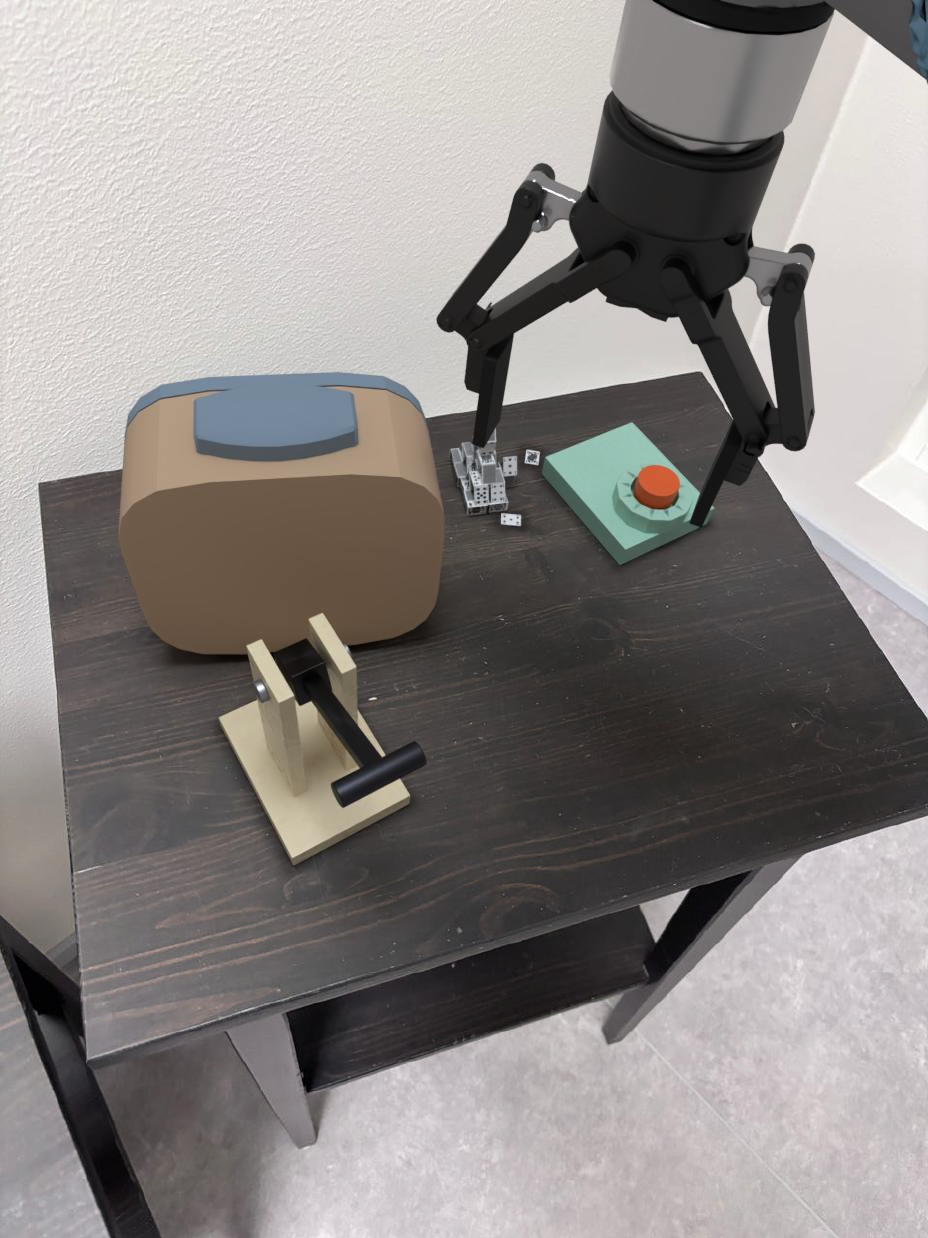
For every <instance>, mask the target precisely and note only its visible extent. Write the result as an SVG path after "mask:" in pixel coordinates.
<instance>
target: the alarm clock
mask: <svg viewBox="0 0 928 1238" xmlns="http://www.w3.org/2000/svg"><path fill="white" fill-rule="evenodd" d="M428 427H429V426H428V422H427V419H426V416H425V412H424V411H423V408H422V405H421V401H420V400H419V399H418V398H417V397H416V396H415V395H414V393H412V392H411V391H410V389H409V388H408V387H407V386H405V385H403V384H402V383H399V382H397V381H395V380H393V379H391V378H389V377H387V376H384V375H377V374H366V373H352V372H341V371H329V372H305V373H304V372H303V373H277V374H275V373H274V374H253V375H248V374H247V375H227V376H225V375H223V376H222V375H221V376H206V377H200V378H195V379H194V378H193V379H188V380H182V381H176V382H169V383H163V384H160V385H158V386H157V387H155V388H153V389H152V390H150V391H148V392H146V393H145V394H143V395H142V396H140V397H139V398H138V399H137V401H136V403H135V404H134V405H133V406H132V408H131V409H130V411H129V412H128V414H127V419H126V424H125V431H124V438H123V439H124V441H123V454H122V455H123V457H122V473H121V487H120V505H119V519H118V534H117V537H118V542H119V548H120V552H121V556H122V559H123V561H124V564H125V568H126V570H127V573H128V576H129V578H130V581H131V584H132V587H133V589H134V592H135V595H136V598H137V601H138V604H139V606H140V610H141V612H142V615H143V617H144V619H145V621H146V623H147V624H148V626H149V628H150V630H151V631H152V632H153V633H154V634H155V635H157V637H159V639H160V640H162V641H163V642H165V643H166V644H168V645H171V646H173V647H174V648H176V649H178V650H182V651H187V652H190V653H191V652H192V653H195V654H200V655H248V652H247V647H246V646H247V645H249V644H251V643H254V642H256V641H258V640H261V639H262V640H263V642H264V644H265V646H266V647H267V649H268V651H269V652H270V653H274V652H276V651H278V650H280V649H283V648H285V647H287V646H289V645H292V644H294V643H296V642H298V641H301V640H303V639H305V638H307V639H308V641H309V642H310V632H309V621H308V619H309V618H312V617H314V616H316V615H319V614H321V613H323V614H324V615H325V617H326V619H327V620H328V622H329V623H330V625H331V627H332V628H333V630H334V631H335V633H336V635H337V636H338V638H339V639H340V641H341V642H345V643H346V645H347V646H356V645H361V644H366V643H367V644H368V643H373V642H378V641H383V640H390V639H394V638H396V637H399V636H401V635H403V634H407V633H408V632H410V631H413V630H415V629H416V628H417V627H418V626H420V625H421V624H422V623H423V622H425V621H426V620H427V619H428V617H429V616H430V614H431V613H432V611H433V610H434V608H435V606H436V603H437V599H438V596H439V590H440V581H441V573H442V572H441V571H442V563H443V554H444V543H445V537H446V520H445V511H444V505H443V501H442V496H441V495H442V494H441V490H440V485H439V480H438V474H437V470H436V464H435V459H434V453H433V447H432V443H431V437H430V432H429V428H428ZM310 643H311V642H310Z"/></svg>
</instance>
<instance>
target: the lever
mask: <svg viewBox="0 0 928 1238" xmlns="http://www.w3.org/2000/svg"><path fill="white" fill-rule="evenodd" d="M273 655H274V659H275V663H276V665H277V666H278V668H279V670H280V672H281V673H282V675H283V677H284V678H285V680H286V682H287V684H288V685H289V687H290V689H291V691H292V692H293V694H294V697H295V700H296V702H297V703H298V704H299V706H302V705H304V704H306V703H308V702H312V703H313V705H314V706H315V707H316V709H317V710H318V711H319V713H320V714H321V716H322V717H323V718H324V720H325V721H326V722H327V724H328V725H329V727H330V728H331V729H332V731H333V732H334V733H335V735H336V736H337V738H338V739H339V740H340V742H341V743H342V744H343V746H344V747H345V749H346V750H347V751H348V753H349V754H350V756H351V757H352V758H353V760H354V761H355V762H356V764H357V765H358V767H359V769H358V770H356V771H354V772H352V773H350V774H348V775H346V776H344V777H342V778H340V779H338V780H336V781H334V782H332V783H331V789H332V792H333V794H334V796H335V798H336V800H337V802H338V803H339V805H340V806H341V807H342V808H344V807H346V806H348V805H350V804H352V803H354V802H356V801H358V800H360V799H362V798H364V797H366V796H367V795H369V794H371V793H373V792H375V791H377V790H379V789H381V788H383V787H385V786H387V785H389V784H391V783H392V782H394V781H396V780H398V779H402V778H404V777H406V776H408V775H410V774H412V773H414V772H415V771H417V770H419V769H420V768H421V769H422V768H423V767H425V766H426V765H427V756H426V755H425V753H424V750H423V749H422V747H421V745H420V744H419V743H418V742H417V741H416V740H413V741H411V742H409V743H407V744H405V745H402V746H401V747H399V748H397V749H395V750H393V751H391V752H389V753H387V754H385V756H383V757H382V756H381V755H380V754H379V752H378V751H377V750H376V748H375V747H374V746H373V744H372V743H371V742H370V741H369V739H368V738H367V737H366V735H365V734H364V733H363V731H362V730H361V729H360V727H359V726H358V725H357V724H356V722H355V721H354V720H353V718H352V717H351V716H350V714H349V713H348V712H347V710H346V709H345V708H344V707H343V705H342V704H341V703H340V701H339V700H338V699H337V697H336V696H335V695H334V693H333V692H332V691H333V690H332V686H331V682H330V678H329V674H328V671H327V667H326V663H325V661H324V660H323V658H322V657H321V656H320V655H319V653H318V652H317V651H316V650H315V648H314V647H313V646H312V645H311V643H310V642H309V641H308V639H307V638H305V639H303V640H301V641H298V642H296V643H294V644H292V645H289V646H287V647H285V648H283V649H280V650H278V651H276V652H273Z"/></svg>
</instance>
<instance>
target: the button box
mask: <svg viewBox="0 0 928 1238" xmlns="http://www.w3.org/2000/svg"><path fill="white" fill-rule="evenodd" d="M650 465H660V466H664V467H667V468H669V469H671V470H672V471H673V472H674V473H675V474H676V475H677V476H678V478H679V481H680V487H679V490H678V492H677V495H676V497H675V500H674V502H673V503H672V504H671V505H670V506H669V507H667V508H665V509H651V508H648V507H646V506H644V505H642V504H641V503H639V502H638V500H637V499H636V498H635V496H634V491H633V490H634V486H635V483H636V480H637V477H638V474H639V472H640V471H641V470H642V469H643V468H645V467H647V466H650ZM541 476H542V477H544V478H545V479H546V481H547V483H549V484H550V486H551V488H553V489H554V490H555V491H556V493H557V494H558V495H559V496H560V497H561V498H562V499H563V501H564V502H565V503H566V504H567V506H568V507H569V508H570V509H571V511H573V513H574V514H575V515H576V516H577V517H578V518H579V520H580V521H581V522H582V524H584V525H585V526H586V528H587V529H588V530H589V531H590V532H591V534H592V535H593V536H594V537H595V538H596V539H597V541H598V542H599V543H600V544H601V545H602V546H603V548H604V549H605V550H606V551H607V552H608V554H609V555H610V556H611V557H612V558H613V559H614V560H615V562H616V563H617V564H618V565H619V566H621V565H623V564H626V563H628V562H630V561H632V560H634V559H636V558H638V557H640V556H642V555H645V554H647V553H649V552H651V551H654V550H656V549H657V548H659V547H662V546H664V545H667V544H668V543H670V542H673V541H674V540H677V539H679V538H680V537H681V538H682V537H683V536H685V535H687V534H690V533H691V532H694V531H695V530H697V529H700V527H698V526H695V525H692V524H690V523H689V522H690V519H691V517H692V514H693V511H694V508H695V506H696V503H697V500H698V497H699V494H700V492H701V491H699V490H698V489H697V488H696V487H695V486H694V485H693V484H692V483H691V482H690V481H689V480H688V478H686V477H685V476H684V474H683V473H681V471H679V469H678V468H677V467H676V466H675V465H674V464H673V463H672V462H671V461H670V460H669V459H668V458H667V457H666V456H665V455H664V453H662V451H661V450H660V449H659V448H658V447H657V446H656V445H655V444H654V443H653V442H652V441H651V440H650V439H649V437H647V436H646V435H645V434H644V433H643V432H642V431H641V430H640V429H639V428H638V426H637V425H636V424H635V423H634V422H632V421H631V422H629V423H626V424H623V425H621V426H619V427H617V428H613V429H611V430H609V431H607V432H604V433H601V434H599V435H597V436H594V437H592V438H589V439H587V440H584V441H582V442H579V443H577V444H575V445H572V446H570V447H567V448H564V449H562V450H559V451H557V452H554V453H552V454H550V455H549V454H548V455H547V456H545V457H544V462H543V465H542V469H541ZM714 510H715V507H714V506H713V505H712V507H711V509H710V511H709V513H708V515H707V517H706V519H705V522H704V524H703V526H702V527H704V526H706V525H708V523H709V521H710V519H711V517H712V515H713V512H714Z"/></svg>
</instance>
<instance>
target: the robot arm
mask: <svg viewBox="0 0 928 1238" xmlns="http://www.w3.org/2000/svg"><path fill="white" fill-rule="evenodd" d="M835 10H836V11H837V12H838V13H839V14H840V15H842V16H843V17H845V19H847V20H848V21H849V22H851V23H852V24H853V25H855V26H856V27H857V28H859V29H860V31H862V32H863V33H865V34H866V35H867V36H869V37H870V38H871V39H872V40H874V41H875V42H877V43H878V44H879V45H881V46H882V47H883V48H884V49H885V50H887V51H888V52H890V53H891V54H892V55H893V56H894V57H896V58H897V59H898V60H900V61H901V62H902V63H903V64H905V65H906V66H907V67H909V68H910V69H911V70H913V71H914V72H915V73H917V74H918V75H919V76H920V77H921V78H923V79H924V80H925V82H926V84H927V85H928V0H625V2H624V7H623V11H622V15H621V20H620V25H619V28H618V29H619V30H618V35H617V39H616V43H615V47H614V53H613V57H612V62H611V67H610V72H609V85H610V87H611V89H612V90H611V91H610V92H609V93H608V94H607V95H606V97H605V99H604V103H603V107H602V111H601V118H600V122H599V125H598V131H597V135H596V140H595V145H594V149H593V154H592V160H591V163H590V164H591V165H590V169H589V173H588V178H587V183H586V186H585V188H584V189H583V191H582V192H581V191H579V190H577V189H574V188H572V187H570V186H568V185H565V184H563V183H561V182H558V181H556V173H555V170H554V169H553V167H552V166H551V165H549V164H548V163H545V162H540V163H536V164H535V165H534V166H533V167H532V168H531V170H530V171H529V172H528V174H527V175H526V177H525V178H524V180H523V181H522V183H521V184H520V185H519V187H518V188H517V189H516V191H515V193H514V195H513V198H512V201H511V205H510V208H509V213H508V215H507V216H508V217H507V220H506V224H505V225H504V227H503V228H502V229H501V231H500V232H499V233H498V235H496V237H495V238H494V240H493V241H492V242H491V243H490V244H489V246H488V247H487V249H486V250H485V251H484V253H482V255H481V256H480V257H479V259H478V260H477V261H476V263H475V264H474V266H473V267H472V268H471V269H470V271H469V272H468V273H467V274H466V276H465V278H464V279H463V280H462V281H461V282H460V284H459V285H458V286H457V288H456V289H455V290H454V292H452V294H451V296H450V297H449V298H448V300H447V302H446V303H445V304H444V306H443V307H442V309H440V312H439V313H438V315H437V316H436V321H435V322H436V324H437V326H438V328H439V329H440V330H441V331H442V332H444V333H448V334H450V333H454V332H455V333H457V334H458V335H460V336H461V337H462V338H463V339H464V340H465V342H466V345H467V352H466V360H465V361H466V362H465V372H464V373H465V374H464V380H463V383H464V386H465V389H466V390H467V391H469V392H472V393H475V394H478V397H477V405H476V411H475V412H476V413H475V419H474V427H473V435H472V437H473V442H472V444H473V445H476V446H478V447H481V448H484V447H485V445H486V444H487V442H488V440H489V438H490V437H491V435H492V433H493V432H494V430H495V428H496V429H497V426H498V425H499V423H500V421H501V418H502V417H501V416H502V411H503V406H504V405H503V404H504V398H505V392H506V386H507V379H508V374H509V368H510V362H511V356H512V349H513V343H514V336H515V334H516V333H518V332H520V331H521V330H523V329H524V328H526V327H528V326H530V325H531V324H533V323H534V322H536V321H538V320H539V319H541V318H543V317H544V316H546V315H548V314H550V313H551V312H553V311H555V310H556V309H558V308H559V307H561V306H563V305H564V304H567V303H569V304H572V303H574V302H576V301H578V300H579V299H581V298H583V297H584V296H586V295H588V294H590V293H591V292H593V291H594V290H596V289H597V291H598V292H599V293H600V294H602V295H603V296H604V297H605V303H607V304H610V305H613V306H615V307H619V308H628V309H636V310H638V311H640V312H641V313H643V314H645V315H646V316H648V317H650V318H652V319H655V320H658V321H661V322H664V323H667V321H668V319H675V318H676V319H677V318H678V319H679V320H680V322H681V325H682V327H683V330H684V331H685V332H686V335H687V338H688V339H689V341H690V343H691V344H692V345H696V346H697V347H698V349H699V351H700V352H701V355H702V357H703V359H704V361H705V364H706V367H707V368H708V370H709V372H710V374H711V376H712V378H713V380H714V382H715V385H716V387H717V389H718V391H719V393H720V395H721V397H722V400H723V401H724V404H725V406H726V408H727V410H728V412H729V414H730V416H731V418H732V420H731V423H730V425H729V427H728V429H727V432H726V434H725V436H724V438H723V441H722V443H721V444H720V447H719V449H718V452H717V454H716V456H715V458H714V460H713V463H712V465H711V467H710V469H709V472H708V474H707V476H706V478H705V481H704V483H703V484H702V487H701V490H700V491H699V492H700V494H699V497H698V500H697V503H696V506H695V508H694V511H693V514H692V517H691V519H690V522H689V523H690V524H692V525H695V526H698V527H700V528H701V529H702V528H703V527H704V526H703V524H704V522H705V519H706V517H707V515H708V513H709V511H710V509H711V507H712V506H713V505H714V502H715V500H716V498H717V497H718V496H717V495H719V492H720V489H721V487H722V485H723V484H724V482H727V483H729V484H733V485H736V486H739V487H741V486H742V485H744V484H745V483H746V482H747V480H748V479H749V477H750V475H751V473H752V471H753V469H754V467H755V465H756V463H757V461H758V459H759V458H761V457H762V455H763V454H764V452H765V449H766V447H768V446H770V445H782V446H783V447H784V449H786V450H788V451H790V452H800V451H802V450H804V449H805V448H806V446H807V443H808V440H809V436H810V433H811V429H812V425H813V422H814V419H815V414H816V408H815V407H816V406H815V398H814V386H813V375H812V374H813V373H812V364H811V354H810V353H811V352H810V343H809V342H810V341H809V332H808V330H809V329H808V321H807V309H806V307H807V306H806V298H805V290H806V287H807V283H808V281H809V278H810V274H811V271H812V268H813V266H814V261H815V259H816V252H815V250H814V248H813V247H812V246H811V245H810V244H807V243H797V244H793V246H791V247H790V248H789V250H788V251H787V252H785V251H781V250H775V249H770V248H765V247H760V246H755V243H754V240H753V227H754V224H755V221H756V219H757V216H758V214H759V211H760V209H761V206H762V203H763V201H764V198H765V195H766V193H767V190H768V187H769V184H770V182H771V180H772V176H773V175H774V172H775V169H776V166H777V163H778V161H779V158H780V156H781V153H782V151H783V148H784V145H785V138H786V137H785V131H784V130H785V129H786V128H788V126H790V125H791V124H792V122H793V121H794V117H795V115H796V113H797V110H798V107H799V105H800V103H801V99H802V98H803V95H804V92H805V89H806V86H807V85H808V81H809V79H810V78H811V74H812V72H813V69H814V66H815V64H816V62H817V59H818V56H819V53H820V52H821V49H822V46H823V43H824V40H825V39H826V36H827V32H828V30H829V28H830V25H831V22H832V20H833V17H834V15H835ZM563 220H564V221H567V222H568V225H569V230H570V233H571V235H572V237H573V240H574V241H575V244H576V248H575V249H574V250H573V251H572V252H571V253H570V254H569V255H568V256H566V257H565V258H563V259H562V260H561V261H559V262H557V263H556V264H554V265H553V266H551V267H549V268H548V269H546V270H545V271H543V272H542V273H540V274H538V275H537V276H535V277H534V278H532V279H530V280H529V281H528V282H526V283H525V284H523V285H522V286H520V287H518V288H517V289H515V290H514V291H512V292H510V293H509V294H508V295H506V296H504V297H503V298H502V299H500V300H498V301H496V302H495V303H493V302H492V301H490V302H489V303H488V304H487V306H486V308H484V307H482V306H481V305H479V304H478V303H479V302H480V301H481V299H483V297H484V296H485V294H487V292H489V290H490V289H491V287H492V286H493V285H494V283H495V282H496V281H497V280H498V279H499V277H500V276H501V275H502V274H503V273H504V271H505V270H506V269H507V267H509V265H510V264H511V263H512V261H513V260H514V259H515V258H516V257H517V255H518V254H519V253H520V252H521V250H522V248H523V247H524V246H525V245H526V243H527V241H528V240H529V238H530V237H531V235H532V234H533V233H536V234H539V233H541V232H547V231H549V230H550V229H551V228H552V227H553V226H554V224H555V223H556V222H558V221H563ZM744 277H745V278H747V279H750V280H751V281H752V282H753V283H754V285H755V287H756V296H757V298H758V299H759V302H760V304H761V305H762V307H763V306H764V307H769V311H768V314H767V335H768V342H769V343H768V344H769V350H770V359H771V367H772V374H773V375H772V376H773V383H774V391H775V399H776V406H777V407H776V406H775V403H774V400H773V398H772V396H771V394H770V391H769V389H768V387H767V385H766V383H765V380H764V377H763V375H762V373H761V370H760V369H759V366H758V364H757V362H756V360H755V358H754V355H753V353H752V350H751V348H750V346H749V343H748V341H747V339H746V337H745V335H744V331H742V328H741V326H740V323H739V321H738V318H737V316H736V314H735V311H734V309H733V297H732V294H731V292H730V288H733V287H734V286H735V285H737V284H738V283H739V282H741V281H742V280H743V279H744ZM700 528H699V529H700Z"/></svg>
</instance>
